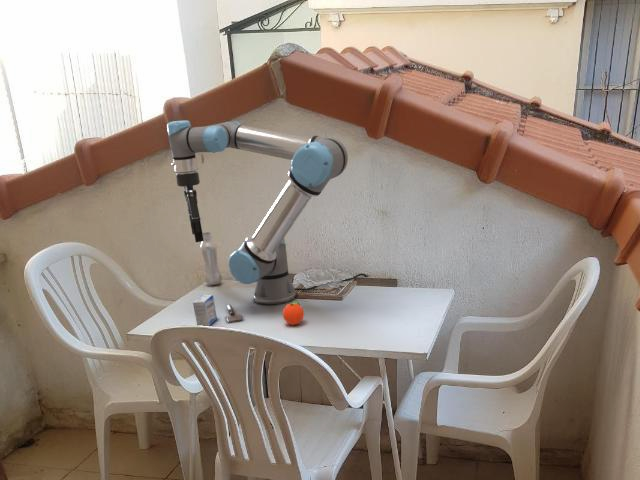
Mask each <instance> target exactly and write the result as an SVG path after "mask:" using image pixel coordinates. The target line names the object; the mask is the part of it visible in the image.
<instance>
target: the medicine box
mask: <svg viewBox="0 0 640 480" xmlns="http://www.w3.org/2000/svg"><path fill="white" fill-rule="evenodd" d="M214 298H215V297H214V295H213V294H202V295H200V296H199V297H198V298H197V299H196V300H194V301H193V302H192V306H193V311H194V316H195V321H196V326H197V325H203V326H209V327H211V326H212V325H213V323H214V322H216V320H217V319H218V316H217V315H218V314H217V310H216V305H215V299H214Z"/></svg>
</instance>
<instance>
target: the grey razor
mask: <svg viewBox="0 0 640 480" xmlns="http://www.w3.org/2000/svg"><path fill="white" fill-rule="evenodd" d="M226 308H227V311H228V313H229V315H226V316H225V319H226V320H227V321H226V322H227V323H228V324H230V323H236V322H243V317H242V316H241V314H240V313H237V314H236V313H235V311H234V309H233V307H232V304H228V305H227V306H226Z"/></svg>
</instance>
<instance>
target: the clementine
mask: <svg viewBox="0 0 640 480" xmlns="http://www.w3.org/2000/svg"><path fill="white" fill-rule="evenodd" d="M304 317H305V311H304V309H303V307H302V306H301V303H300V302H291V303H288V304H287V305H286V306H285V307H284V308H283V311H282V318H283V319H284V321H285V322H286V323H287V324H288V325H291V326H294V325H295V326H296V325H298V324H300V323H301V322H302V321H303V320H304Z"/></svg>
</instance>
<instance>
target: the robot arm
mask: <svg viewBox="0 0 640 480" xmlns="http://www.w3.org/2000/svg"><path fill="white" fill-rule="evenodd" d="M166 128H167V135H168V136H167V139H168V142H169V146H170V151H171V156H172V160H173V161H172V162H171V167H174V168H173V169H174V172H175V173H176V174H175V179H176V180H175V181H176V185H177V186H178V187H180V188H181V187H182V188H183V189H184V190H183V195H184V198H185V202H186V204H187V211H188V217H189V223H190V228H191V234H192V235H193V236H194V241H195V243H202V242H203V241H204V240H203V234H202V233H203V229H202V222H201V217H200V212H199V206H198V193H197V190H196V189H194V186H197V185H200V182H201V179H200V173H199V172H198V170H199V167H198V160H197V156H196V154H198V153H212V154H215V153H220V152H221V153H222V152H224V151H225V150H226V149H227V148H231V149H235V150H242V151H245V152H251V153H256V154H261V155H265V156H270V157H273V158H274V157H275V158H278V159H284V160H289V161H291V165H290V166H291V167H290V169H289V170H288V173H287V174H288V178H289V180H288V181H287V182H286V184H285V186H284V187H283V189H282V190H281V192H280V193H279V195H278V197H277V198H276V199H275V201H274V203H273V205H272V206H271V208H270V209H269V211H268V212H267V214H266V216H265V217H264V218H263V220H262V222H261V223H260V225H259V226H258V228H257V229H256V231H255V233H254V234H249V235H247V236H246V238H245V239H244V241H243V243H242V244H241V245H240V247H239V248H238V249H237V250H235V251H233V252H232V253H231V254H230V256H229V258H228V268H229V271H230V274H231V275H232V277H233V278H234V279H235V280H236V281H237V282H239V283H240V284H243V285H251V284H254V283H255V288H254V291H252V295H253V297H254V302H255V303H257V304H261V305H279V304H280V305H281V304H284V303H289V302H291V301H293V300H294V299H295V298H296V297H297V291H310V290H313V289H315V288H317V287H319V286H315V285H313V286H310V287H306V289H305V288H301V287H294V284H293V281H292V280H291V277H290V275H289V273H290V272H289V265H288V256H287V247H286V246H287V244H286V241H285V240H286V239H285V237H286V236H287V234H288V233H289V231H290V230H291V228H292V227H293V226H294V224H295V223H296V221H297V220H298V218H299V216H300V215H301V214H302V212H303V211H304V209H305V208H306V207H307V205H308V203H309V202H310V201H311V199H312V197H318V196H320V194H321V193H322V192H323V191H324V189H325V187H326V186H327V185H328V183H329V182H330V181H331V180H332V179H334V178H337V177H338V176H340V175H342V174H343V172H344V171H345V170H346V168H347V166H348V161H349V156H348V150H347V148H346V146H345V145H344V143H342V141H340V140H338V139H337V138H334V137H328V136H319V135H312V136H311V137H306V136H302V135H295V134H289V133H285V132H280V131H276V130H269V129H265V128H260V127H255V126H249V125H244V124H241V123H240V122H239V121H235V120H228V121H225V122H220V123H216V124H210V125H206V126H195V127H194V126H192V125H191V122H190V120H186V119H185V120H175V121H170V122H168V123H167V125H166ZM361 276H363V277H365V278H367V277H368V275H367V274H365V273H358V274H356V275H354V276H352V277H353V278H352V277H349V278H348V277H347V278H344V279H345V280H343V281H341V282H340V283H342V282H348V281H352V280H354V279H357V278H359V277H361Z"/></svg>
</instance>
